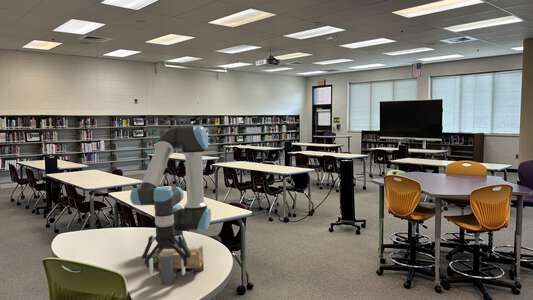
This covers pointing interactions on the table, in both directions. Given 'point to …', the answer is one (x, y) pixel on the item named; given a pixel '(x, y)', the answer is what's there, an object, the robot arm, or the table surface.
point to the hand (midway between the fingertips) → (167, 274)
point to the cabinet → (192, 262)
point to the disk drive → (154, 262)
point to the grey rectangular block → (167, 269)
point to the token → (187, 272)
